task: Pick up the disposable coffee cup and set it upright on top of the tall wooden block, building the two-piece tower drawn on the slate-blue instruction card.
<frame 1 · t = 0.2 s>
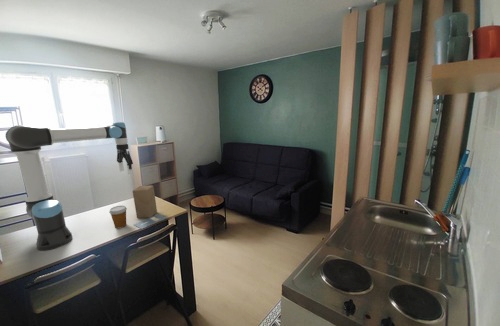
hand: (126, 172, 163), 28 cm above the table, fingers open, 13 cm apart
instruction card: (150, 221, 146), on the table
disposable coffee cup: (120, 225, 141), on the table
wooden block: (147, 215, 155), on the table, touching instruction card
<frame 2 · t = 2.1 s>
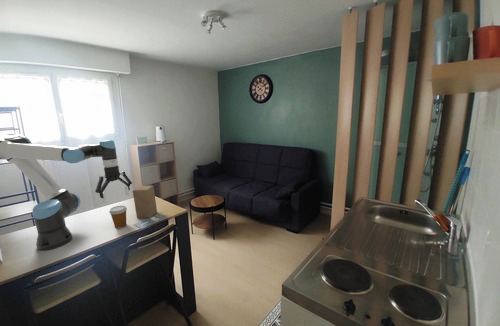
hand: (116, 199, 137), 18 cm above the table, fingers open, 13 cm apart
nothing on the table moved.
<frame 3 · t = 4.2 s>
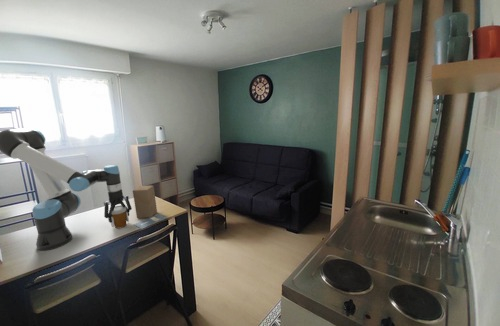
hand: (120, 223, 140), 1 cm above the table, fingers closed on disposable coffee cup, 8 cm apart
disposable coffee cup: (120, 225, 141), on the table, touching gripper
everything else where it was.
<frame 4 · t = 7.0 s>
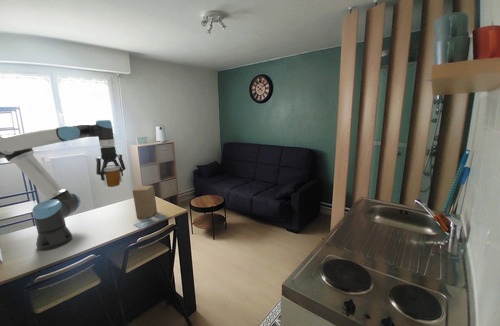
hand: (113, 183, 134), 28 cm above the table, fingers closed on disposable coffee cup, 8 cm apart
disposable coffee cup: (113, 185, 135), point 27 cm above the table, touching gripper
everything else where it was.
when the fingers open (21 cm above the table, at t = 10.2 s): disposable coffee cup stays where it is, resting on wooden block.
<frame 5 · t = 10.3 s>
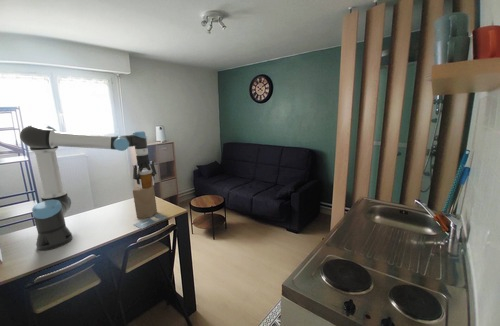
hand: (146, 186, 152), 20 cm above the table, fingers open, 8 cm apart
disposable coffee cup: (146, 187, 152), point 20 cm above the table, touching wooden block
wooden block: (147, 215, 155), on the table, touching disposable coffee cup, gripper, instruction card
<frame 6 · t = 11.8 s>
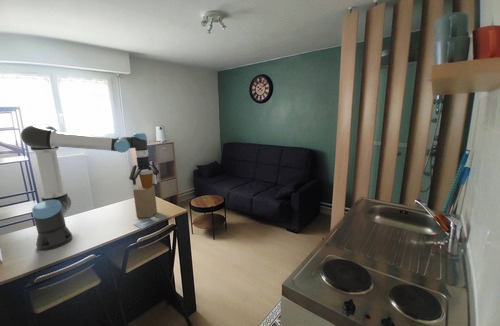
hand: (146, 186, 152), 21 cm above the table, fingers open, 13 cm apart
wooden block: (147, 215, 155), on the table, touching disposable coffee cup, instruction card
everything else where it was.
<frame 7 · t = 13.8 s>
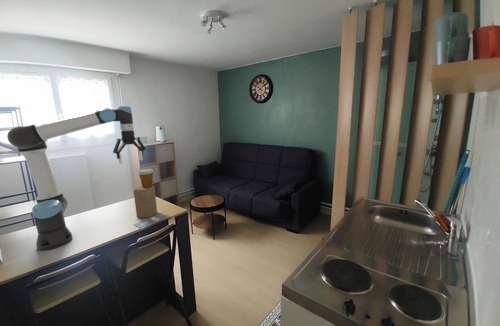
hand: (131, 161, 149), 38 cm above the table, fingers open, 13 cm apart
nothing on the table moved.
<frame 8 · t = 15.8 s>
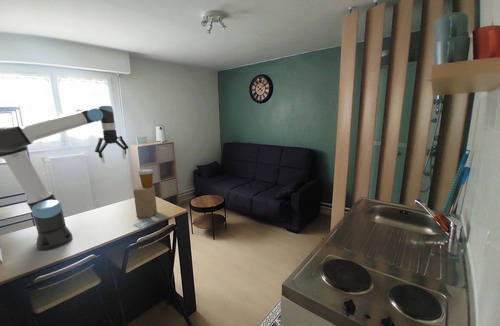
hand: (114, 160, 151), 39 cm above the table, fingers open, 13 cm apart
nothing on the table moved.
at the end: disposable coffee cup inside the target area in the wooden block (2.7 cm from its centre), point 19.9 cm above the wooden block's base; disposable coffee cup tilted 2°; wooden block tilted 2° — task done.
